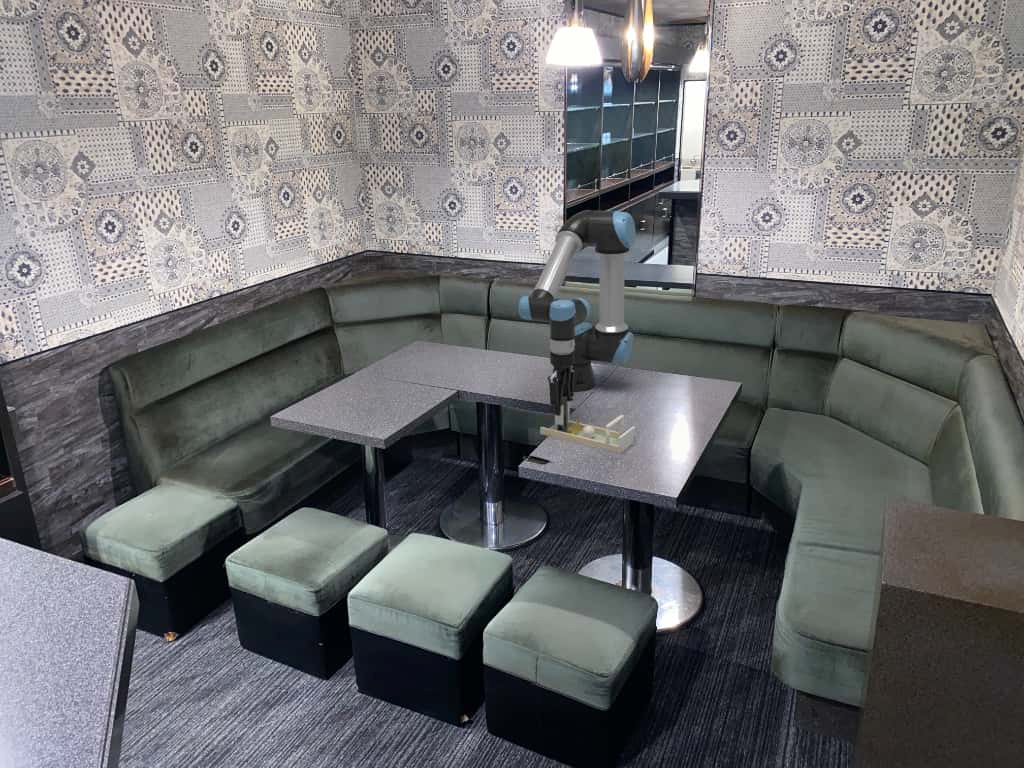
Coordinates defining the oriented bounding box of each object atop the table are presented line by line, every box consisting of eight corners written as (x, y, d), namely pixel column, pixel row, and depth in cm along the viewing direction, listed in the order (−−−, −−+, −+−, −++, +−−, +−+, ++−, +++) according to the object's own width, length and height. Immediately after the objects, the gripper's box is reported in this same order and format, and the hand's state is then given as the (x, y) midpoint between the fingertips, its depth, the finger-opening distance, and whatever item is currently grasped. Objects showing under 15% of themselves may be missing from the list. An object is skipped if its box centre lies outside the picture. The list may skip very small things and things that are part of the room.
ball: (579, 438, 243) (579, 426, 241) (585, 434, 246) (585, 422, 244) (590, 441, 241) (591, 429, 239) (597, 437, 244) (597, 425, 242)
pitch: (540, 437, 247) (539, 410, 244) (556, 426, 255) (556, 400, 252) (620, 457, 232) (620, 429, 229) (634, 445, 240) (636, 418, 237)
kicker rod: (547, 432, 247) (547, 396, 243) (557, 425, 253) (557, 390, 248) (570, 438, 243) (570, 402, 239) (580, 430, 248) (581, 395, 244)
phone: (521, 457, 232) (546, 439, 244) (521, 460, 233) (546, 442, 244) (544, 462, 228) (568, 444, 240) (544, 466, 229) (568, 447, 241)
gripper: (559, 360, 231) (559, 433, 239) (586, 346, 243) (585, 416, 251) (537, 356, 235) (538, 428, 243) (565, 342, 247) (564, 411, 255)
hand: (562, 421), depth 247 cm, fingers closed on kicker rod, 3 cm apart
